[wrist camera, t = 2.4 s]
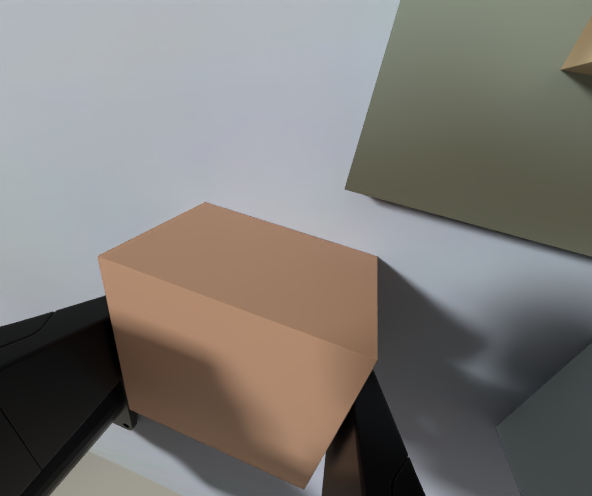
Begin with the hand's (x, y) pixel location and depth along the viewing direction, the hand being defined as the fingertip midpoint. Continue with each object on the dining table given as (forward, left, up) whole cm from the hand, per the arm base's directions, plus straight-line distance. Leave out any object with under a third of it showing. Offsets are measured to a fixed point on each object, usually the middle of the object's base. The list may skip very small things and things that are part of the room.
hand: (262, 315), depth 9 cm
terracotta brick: (0, 0, -1) cm, 1 cm away
